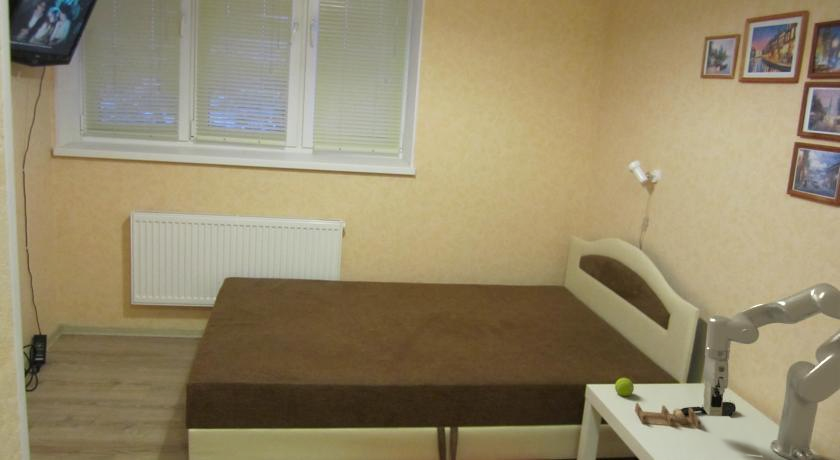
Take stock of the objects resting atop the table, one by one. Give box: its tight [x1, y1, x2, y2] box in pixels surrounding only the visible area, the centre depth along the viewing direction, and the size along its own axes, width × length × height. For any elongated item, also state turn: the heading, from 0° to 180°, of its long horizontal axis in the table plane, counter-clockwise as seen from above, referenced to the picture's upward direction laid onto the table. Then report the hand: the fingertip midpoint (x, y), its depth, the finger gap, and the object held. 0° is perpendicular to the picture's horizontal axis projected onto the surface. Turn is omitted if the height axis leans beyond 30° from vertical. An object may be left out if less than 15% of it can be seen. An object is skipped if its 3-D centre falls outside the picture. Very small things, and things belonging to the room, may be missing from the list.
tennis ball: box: [614, 377, 635, 397], centre depth 255 cm, size 7×7×7 cm
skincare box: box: [702, 378, 724, 417], centre depth 224 cm, size 6×4×12 cm
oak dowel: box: [672, 408, 688, 425], centre depth 236 cm, size 7×3×3 cm, turn 176°
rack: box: [634, 402, 701, 430], centre depth 236 cm, size 10×20×4 cm, turn 86°
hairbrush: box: [679, 399, 737, 417], centre depth 245 cm, size 8×4×25 cm
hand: (712, 401), depth 225 cm, fingers closed on skincare box, 6 cm apart
